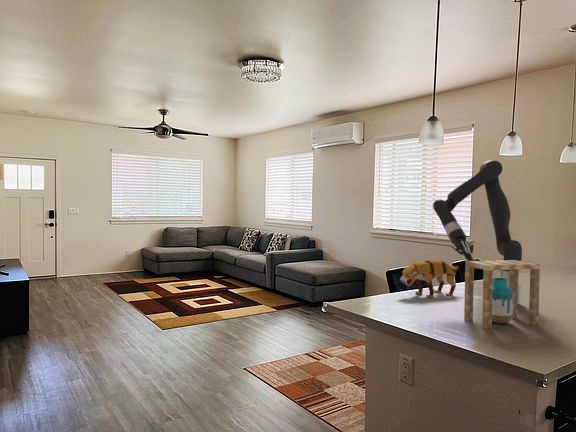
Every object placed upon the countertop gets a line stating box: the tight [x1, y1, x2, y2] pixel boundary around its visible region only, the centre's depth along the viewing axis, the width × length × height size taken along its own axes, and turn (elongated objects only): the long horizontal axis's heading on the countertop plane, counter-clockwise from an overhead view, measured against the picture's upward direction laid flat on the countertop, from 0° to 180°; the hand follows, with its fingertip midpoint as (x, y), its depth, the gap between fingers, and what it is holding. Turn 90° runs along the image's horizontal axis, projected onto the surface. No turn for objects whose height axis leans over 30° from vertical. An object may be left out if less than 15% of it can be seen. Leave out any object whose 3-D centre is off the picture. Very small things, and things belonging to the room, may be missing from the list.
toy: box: [399, 259, 460, 299], centre depth 245 cm, size 12×40×20 cm, turn 112°
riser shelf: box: [463, 259, 541, 330], centre depth 187 cm, size 26×14×26 cm, turn 105°
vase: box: [492, 277, 513, 324], centre depth 187 cm, size 11×11×19 cm
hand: (471, 261), depth 208 cm, fingers closed
